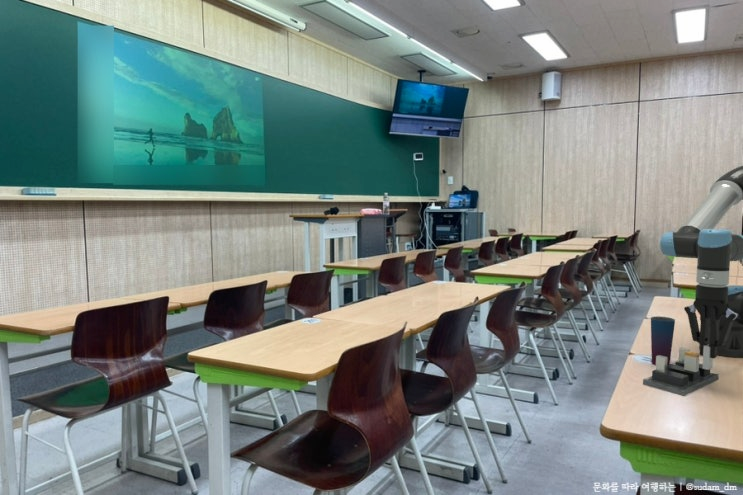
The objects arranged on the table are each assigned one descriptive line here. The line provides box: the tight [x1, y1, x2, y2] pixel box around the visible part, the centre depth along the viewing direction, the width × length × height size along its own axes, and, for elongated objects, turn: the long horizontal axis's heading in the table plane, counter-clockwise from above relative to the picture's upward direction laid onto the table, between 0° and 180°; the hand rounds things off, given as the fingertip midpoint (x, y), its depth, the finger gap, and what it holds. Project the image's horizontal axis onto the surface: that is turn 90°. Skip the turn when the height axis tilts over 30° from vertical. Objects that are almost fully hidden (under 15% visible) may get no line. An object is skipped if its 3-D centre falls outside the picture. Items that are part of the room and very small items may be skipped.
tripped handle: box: [684, 350, 700, 372], centre depth 148 cm, size 2×3×5 cm
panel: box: [642, 346, 720, 397], centre depth 151 cm, size 22×11×8 cm, turn 126°
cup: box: [650, 315, 676, 366], centre depth 167 cm, size 7×7×15 cm
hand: (707, 368), depth 145 cm, fingers closed
